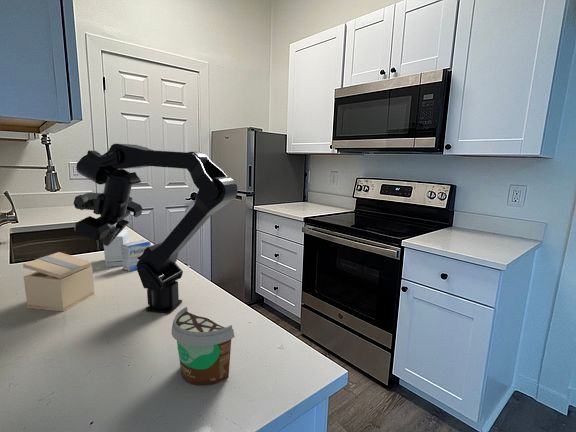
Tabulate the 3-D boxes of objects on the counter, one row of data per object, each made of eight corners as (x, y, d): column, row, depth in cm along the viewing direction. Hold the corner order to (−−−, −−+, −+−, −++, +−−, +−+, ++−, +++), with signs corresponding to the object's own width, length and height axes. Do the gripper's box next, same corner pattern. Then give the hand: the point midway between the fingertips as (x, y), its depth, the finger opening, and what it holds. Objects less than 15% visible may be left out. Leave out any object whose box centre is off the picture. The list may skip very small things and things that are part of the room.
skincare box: (112, 257, 118) (110, 229, 116) (131, 256, 120) (129, 229, 118) (104, 267, 108) (101, 236, 107) (125, 265, 110) (123, 235, 108)
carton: (94, 294, 87) (92, 266, 86) (63, 311, 77) (60, 279, 76) (62, 291, 89) (58, 263, 87) (27, 307, 79) (23, 276, 77)
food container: (158, 372, 56) (155, 319, 55) (187, 354, 61) (184, 305, 60) (207, 402, 50) (205, 343, 48) (235, 380, 55) (234, 325, 53)
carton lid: (91, 264, 86) (92, 261, 85) (60, 278, 76) (60, 274, 76) (58, 255, 87) (58, 251, 87) (23, 267, 77) (23, 263, 77)
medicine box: (129, 272, 104) (127, 246, 103) (122, 269, 107) (120, 243, 105) (152, 265, 111) (150, 241, 109) (145, 263, 113) (143, 239, 112)
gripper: (110, 171, 88) (101, 220, 94) (56, 190, 70) (48, 248, 76) (148, 187, 88) (137, 235, 94) (103, 210, 71) (92, 266, 76)
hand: (106, 244), depth 85 cm, fingers closed
